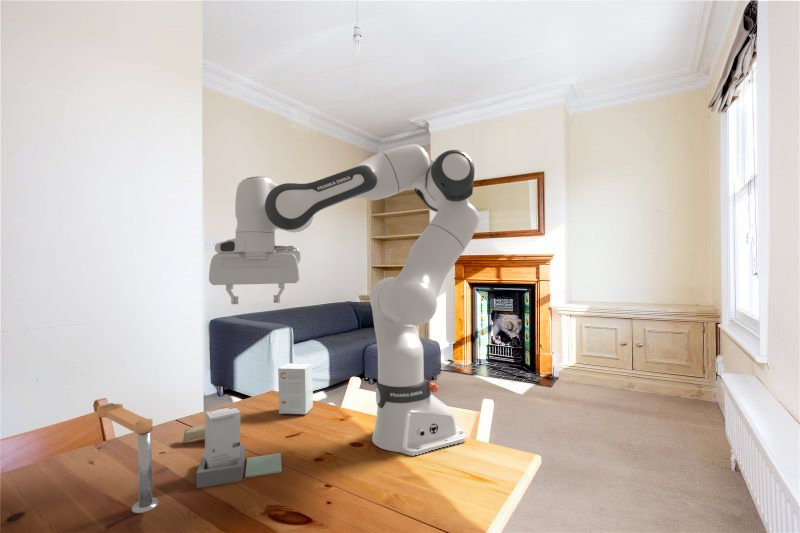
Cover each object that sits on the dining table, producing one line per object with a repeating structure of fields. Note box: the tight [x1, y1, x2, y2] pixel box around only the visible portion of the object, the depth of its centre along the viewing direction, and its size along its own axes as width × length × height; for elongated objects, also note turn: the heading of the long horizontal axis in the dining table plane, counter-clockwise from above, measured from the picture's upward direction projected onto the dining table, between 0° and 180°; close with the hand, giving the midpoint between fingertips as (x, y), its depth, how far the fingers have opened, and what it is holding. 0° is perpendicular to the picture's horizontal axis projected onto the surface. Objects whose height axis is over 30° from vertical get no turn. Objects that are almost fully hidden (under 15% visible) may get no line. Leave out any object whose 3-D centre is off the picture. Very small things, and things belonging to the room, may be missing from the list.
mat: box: [244, 452, 283, 479], centre depth 84 cm, size 7×8×1 cm
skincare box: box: [204, 406, 241, 469], centre depth 82 cm, size 6×4×12 cm
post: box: [131, 430, 160, 514], centre depth 70 cm, size 4×4×13 cm
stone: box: [182, 424, 205, 443], centre depth 96 cm, size 11×6×5 cm, turn 117°
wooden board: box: [96, 402, 153, 435], centre depth 74 cm, size 19×4×2 cm, turn 55°
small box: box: [277, 362, 314, 415], centre depth 116 cm, size 8×6×13 cm
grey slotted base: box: [195, 444, 246, 489], centre depth 81 cm, size 8×10×3 cm
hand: (256, 303), depth 96 cm, fingers open, 8 cm apart
